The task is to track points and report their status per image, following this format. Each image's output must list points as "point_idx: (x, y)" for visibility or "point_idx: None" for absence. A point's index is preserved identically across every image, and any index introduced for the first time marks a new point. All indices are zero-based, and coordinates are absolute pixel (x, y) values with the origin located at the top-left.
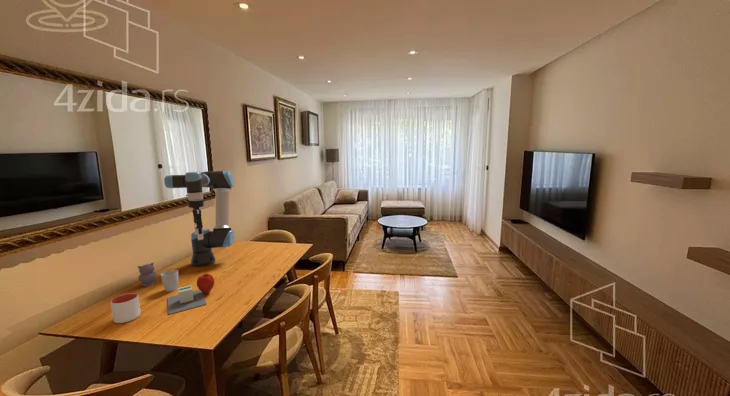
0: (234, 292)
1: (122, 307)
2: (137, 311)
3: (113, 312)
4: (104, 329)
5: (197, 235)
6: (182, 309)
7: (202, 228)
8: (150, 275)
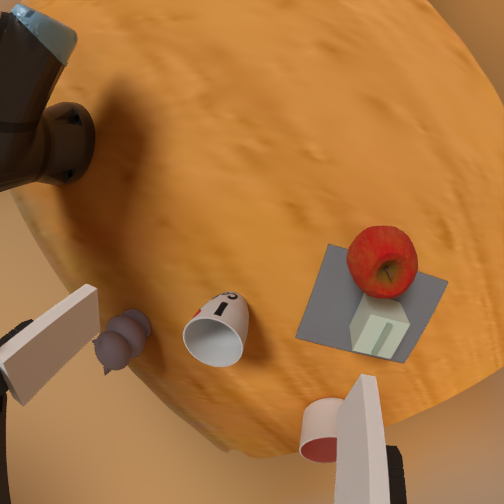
0: (450, 177)
1: None
2: None
3: (333, 445)
4: None
5: (340, 450)
6: (415, 336)
7: (388, 497)
8: (136, 341)
